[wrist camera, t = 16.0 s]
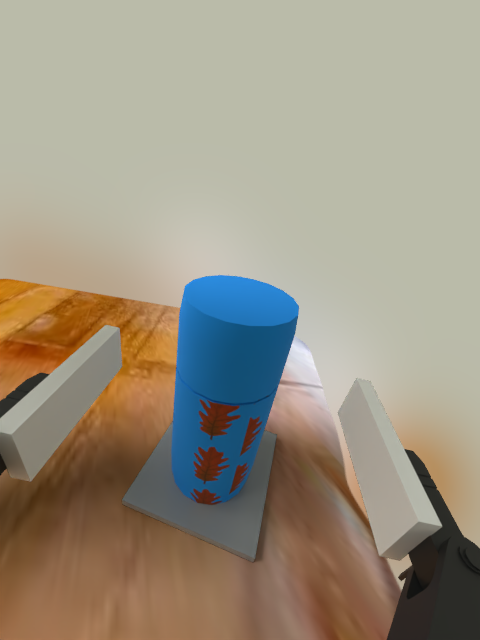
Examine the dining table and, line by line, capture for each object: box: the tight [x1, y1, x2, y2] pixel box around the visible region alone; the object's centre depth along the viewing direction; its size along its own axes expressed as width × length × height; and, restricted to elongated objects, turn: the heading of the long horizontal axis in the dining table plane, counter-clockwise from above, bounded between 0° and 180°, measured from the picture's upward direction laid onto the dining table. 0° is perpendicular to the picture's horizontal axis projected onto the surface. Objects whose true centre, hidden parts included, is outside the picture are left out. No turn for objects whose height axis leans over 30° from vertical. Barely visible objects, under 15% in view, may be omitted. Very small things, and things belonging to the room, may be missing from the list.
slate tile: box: [122, 422, 277, 562], centre depth 35 cm, size 16×16×1 cm
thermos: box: [171, 275, 299, 505], centre depth 29 cm, size 11×11×25 cm
